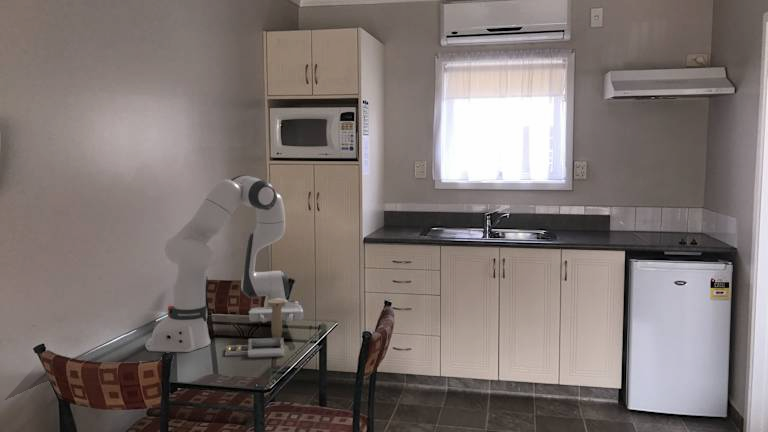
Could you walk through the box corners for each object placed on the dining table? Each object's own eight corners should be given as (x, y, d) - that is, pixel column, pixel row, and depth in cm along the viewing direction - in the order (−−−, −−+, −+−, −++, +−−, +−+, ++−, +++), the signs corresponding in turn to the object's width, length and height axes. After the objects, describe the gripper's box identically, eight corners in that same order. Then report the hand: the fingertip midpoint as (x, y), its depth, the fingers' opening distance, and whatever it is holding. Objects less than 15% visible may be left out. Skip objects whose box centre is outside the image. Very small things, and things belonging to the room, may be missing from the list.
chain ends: (224, 358, 225) (224, 351, 224) (226, 346, 237) (226, 339, 236) (284, 356, 228) (284, 348, 228) (283, 344, 240) (283, 337, 240)
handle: (286, 341, 243) (286, 302, 241) (268, 342, 242) (268, 303, 240) (284, 337, 248) (285, 299, 246) (267, 338, 246) (267, 299, 244)
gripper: (248, 302, 254) (248, 312, 240) (301, 301, 258) (304, 311, 244) (248, 318, 255) (248, 329, 241) (301, 316, 259) (304, 327, 245)
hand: (276, 320), depth 243 cm, fingers open, 7 cm apart
